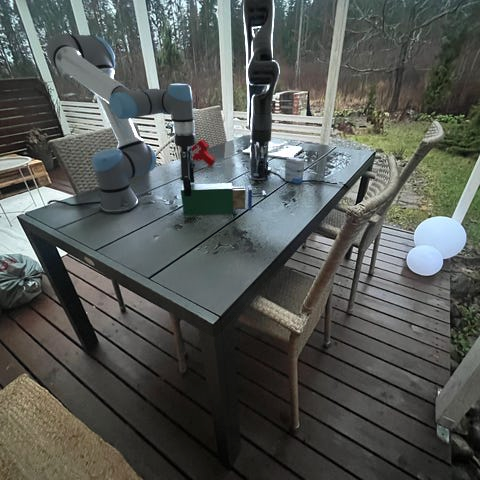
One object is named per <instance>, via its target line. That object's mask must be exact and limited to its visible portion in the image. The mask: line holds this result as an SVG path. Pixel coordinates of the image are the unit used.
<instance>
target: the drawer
mask: <svg viewBox="0 0 480 480" xmlns="http://www.w3.org/2000/svg"><path fill="white" fill-rule="evenodd" d="M246 197H247V208H248V211H253V198H259V197H260V198H261V197H262V198H264V199H266V198H267V192H266V191H265V190H262V191H253V188H252V185H251V184H249V185H247V196H246V186H233V210H246Z"/></svg>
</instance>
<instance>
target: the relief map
mask: <svg viewBox="0 0 480 480" xmlns="http://www.w3.org/2000/svg"><path fill="white" fill-rule="evenodd" d="M302 147H303V146H294V145H292V144H290V143H289V142H288V141H284V142H282V143H280V144H279V143H278V142H276V141H273V140H272V139H271V140H270V141H269V145H268V157H271V158H277V159H285V160H286V159H287V158H289V157H296V156H297V155H298V154H299V153H300V152H302V151H303V150H304V148H303V149H302ZM250 148H251V145H250V146H249V147H248V148H247V149H245V150H242V153H243V154H247V155H248V154H249V155H250ZM296 153H297V154H296Z"/></svg>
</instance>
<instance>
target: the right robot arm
mask: <svg viewBox="0 0 480 480" xmlns="http://www.w3.org/2000/svg"><path fill="white" fill-rule="evenodd" d="M242 7H243V10H242V11H243V23H244V24H243V25H244V36H245V37H244V38H245V52H246V53H245V54H246V85H247V86H246V87H247V128H248V130H249V132H250V146H251V148H250V154H249V157H250V158H249V160H250V161H249V165H250V166H249V167H250V168H249V178H250V180H253V181H256V182H257V181H265V180H268V179H269V177H270V176H271V174H273V175H275V176H277V177H278V178H279V179H280V180H282V181H285V177H282V176H281V175H280V174H279V173H277V172H276V171H272V167H269V156H268V145H269V141H270V140H272V131H273V130H272V129H273V127H272V126H273V99H274V94H275V90H276V86H277V84H278V81H279V76H280V66H279V63H278V62H277V61H276V60H273V57H274V56H273V32H274V22H275V21H274V19H275V3H274V0H243V6H242ZM257 28H259V29H258V30H257V31H256V33H254V30H253V29H257ZM317 180H318V179H305V180H304V179H303V180H302V181H301V183H313V182H314V183H323V184H329V185H338V184H337V183H336V182H335V183H330V182H331V181H327V182H325V181H326V180H321V181H317ZM285 182H286V181H285ZM338 182H339V181H338ZM339 183H344V182H342V181H340V182H339ZM342 185H343V186H344V187H346V188H348V187H349V186H348V184H346V183H345V184H342Z"/></svg>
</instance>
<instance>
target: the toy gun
mask: <svg viewBox="0 0 480 480" xmlns="http://www.w3.org/2000/svg"><path fill="white" fill-rule="evenodd" d="M209 148H210V145H209V144H208V142H207V141H206V140H205V139H204V138H202V139H200V140H198V141H197V142H196V143H195V145H193V146H191V149H192V158H193V162H194V161H195V160H196V162H200V161H204V162H205V163H206V164H207V165H208V167H210V166H212V165H214V164H215V163H216V162H215V161H216V158H215V156H213V155H212V154H210V153H209V152H208V149H209Z"/></svg>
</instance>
